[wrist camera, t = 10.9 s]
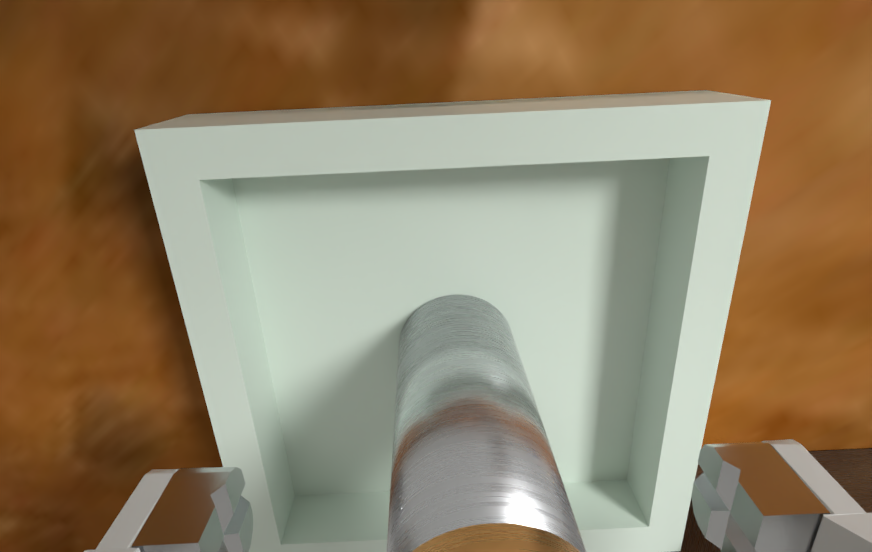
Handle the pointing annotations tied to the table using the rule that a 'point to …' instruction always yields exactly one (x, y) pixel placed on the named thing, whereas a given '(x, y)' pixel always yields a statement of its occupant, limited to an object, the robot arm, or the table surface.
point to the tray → (458, 288)
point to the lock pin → (471, 441)
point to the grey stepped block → (853, 469)
